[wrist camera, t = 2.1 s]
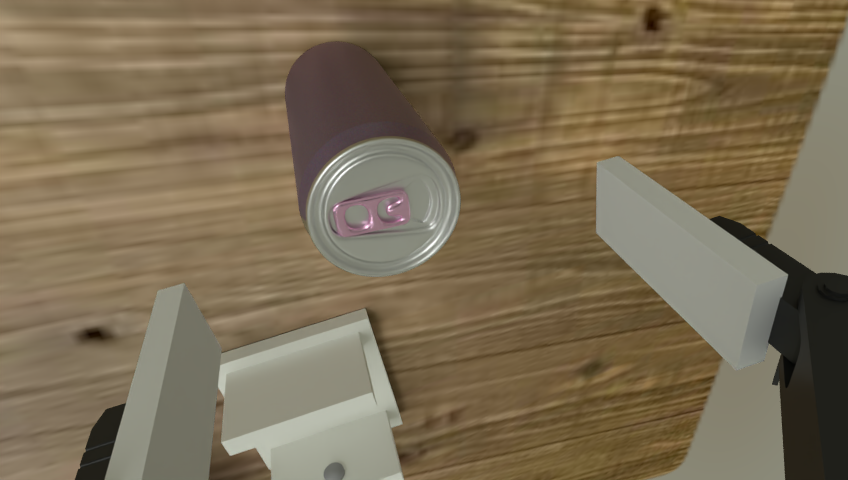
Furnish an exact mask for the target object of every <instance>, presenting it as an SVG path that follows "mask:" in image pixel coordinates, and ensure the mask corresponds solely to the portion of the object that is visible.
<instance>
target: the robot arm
mask: <svg viewBox="0 0 848 480" xmlns="http://www.w3.org/2000/svg"><path fill="white" fill-rule="evenodd" d="M596 233H597V234H598V235H599V236H600V237H601V238H602V239H603V240H604V241H605V242H606V243H607V244H608V245H609V246H610V247H611V248H612V249H613V250H614V251H615V252H616V253H617V254H618V255H619V256H620V257H621V258H622V259H623V260H624V261H625V262H626V263H627V264H628V265H629V266H630V267H631V268H632V269H633V270H634V271H635V272H637V273H638V274H639V275H640V276H641V277H642V278H643V279H644V280H645V281H646V282H647V283H648V284H649V285H650V286H651V287H652V288H653V289H654V290H655V291H656V292H657V293H658V294H659V295H660V296H661V297H662V298H663V299H664V300H665V301H666V302H667V303H668V304H669V305H670V306H671V307H672V308H673V309H674V310H675V311H676V312H677V313H678V314H679V315H680V316H681V317H682V318H683V319H684V320H685V321H686V322H687V323H688V324H689V325H690V326H692V327H693V328H694V329H695V330H696V331H697V332H698V333H699V334H700V335H701V336H702V337H703V338H704V339H705V340H706V341H707V342H708V343H709V344H710V345H711V346H712V347H713V348H714V349H715V350H716V351H717V352H718V353H719V354H720V355H721V356H722V357H723V358H724V359H725V360H726V361H727V362H728V363H729V364H730V365H731V366H732V367H733V368H734V369H735V370H739V369H742V368H745V367H748V366H751V365H753V364H756V363H759V362H762V361H764V359H765V355H766V352H767V348H768V345H769V344H771V345H772V346H773V347H774V348H775V349H776V350H778V351H779V352H780V353H781V356H780V359H779V363H778V366H777V369H776V373H775V376H774V379H773V383H772V384H773V385H778V382H779V381H780V398H781V416H782V432H783V447H784V448H783V449H784V466H785V480H848V276H846V275H841V274H837V273H818V274H816V273H814V272H813V271H811V270H810V269H808V268H807V267H805V266H804V265H802V264H801V263H799V262H798V261H796V260H795V259H793V258H792V257H790V256H789V255H787V254H786V253H784V252H783V251H781V250H780V249H778V248H777V247H775V246H774V245H772V244H768V241H766V240H765V239H763V238H762V237H760V236H759V235H758V236H756V234H755V233H754V232H753V231H751V230H750V229H748V228H747V227H745V226H744V225H742V224H741V223H738V222H735V221H733V220H730V219H727V218H724V217H721V216H718V217H715V218H711V219H708V218H707V217H705V216H704V215H702V214H701V213H699V212H698V211H697V210H695V209H694V208H692V207H691V206H689V205H688V204H687V203H685V202H684V201H682V200H681V199H679V198H678V197H677V196H675V195H674V194H672V193H671V192H669V191H668V190H667V189H665V188H664V187H662V186H661V185H659V184H658V183H657V182H655V181H654V180H652V179H651V178H649V177H648V176H647V175H645V174H644V173H642V172H641V171H639V170H638V169H637V168H635V167H634V166H632V165H631V164H630V163H628V162H627V161H625V160H624V159H622V158H621V157H620V156H617V157H614V158H610V159H607V160H603V161H600V162H597V197H596ZM221 351H222V348H221V346H220V344H219V342H218V341H217V339H216V337H215V335H214V334H213V332H212V330H211V328H210V327H209V325H208V323H207V322H206V320H205V318H204V316H203V315H202V313H201V311H200V309H199V308H198V306H197V304H196V302H195V301H194V299H193V297H192V295H191V294H190V292H189V290H188V288H187V287H186V285H185V283H183V284H179V285H176V286H172V287H169V288H166V289H162V290H159V291H158V292H157V296H156V299H155V303H154V306H153V310H152V314H151V317H150V321H149V324H148V328H147V331H146V335H145V338H144V342H143V345H142V349H141V352H140V356H139V360H138V363H137V367H136V370H135V374H134V377H133V381H132V384H131V388H130V391H129V395H128V398H127V402H126V403H125V404H122V405H118V406H115V407H112V408H109V409H106V410H105V412H104V413H103V414H102V416H101V417H100V419H99V420H98V421H97V423H96V424H95V426H94V427H93V428H92V430H91V433H90V436H89V439H88V442H87V445H86V448H85V450H86V452H85V453H84V454H83V457H82V460H81V463H80V467H81V468H80V469H78V472H77V475H76V478H75V480H209V470H210V460H211V450H212V440H213V430H214V420H215V410H216V400H217V390H218V380H219V370H220V361H221Z"/></svg>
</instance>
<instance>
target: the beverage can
mask: <svg viewBox="0 0 848 480" xmlns="http://www.w3.org/2000/svg"><path fill="white" fill-rule="evenodd" d="M285 100H286V108H287V116H288V124H289V132H290V139H291V147H292V155H293V163H294V171H295V179H296V187H297V195H298V203H299V211H300V215H301V219H302V222H303V224H304V226H305V228H306V230H307V232H308V233H309V235H310V236H311V239H312V241H313V243H314V244H315V246H316V248H317V249H318V250H319V252H320V253H321V254H322V255H323V256H324V257H325V258H326V259H327V260H328V261H330V262H331V263H332V264H334V265H335V266H337V267H339V268H341V269H343V270H345V271H347V272H350V273H353V274H357V275H361V276H369V277H383V276H391V275H396V274H400V273H403V272H406V271H409V270H411V269H413V268H415V267H417V266H419V265H421V264H423V263H424V262H426V261H427V260H429V259H430V258H431V257H432V256H434V255H435V254H436V253H437V252H438V251H439V250H440V249H441V248H442V247H443V246H444V244H445V243H446V242H447V240H448V239H449V237H450V236H451V234H452V232H453V230H454V228H455V226H456V223H457V220H458V217H459V213H460V204H461V196H460V189H459V185H458V181H457V178H456V174H455V170H454V167H453V164H452V162H451V160H450V158H449V156H448V154H447V153H446V151H445V150H444V148H443V147H442V146H441V144H440V143H439V142H438V140H437V139H436V138H435V136H434V135H433V134H432V133H431V131H430V130H429V129H428V127H427V126H426V125H425V123H424V122H423V121H422V119H421V118H420V117H419V115H418V114H417V113H416V111H415V110H414V109H413V107H412V106H411V105H410V103H409V102H408V101H407V100H406V98H405V97H404V96H403V94H402V93H401V92H400V90H399V89H398V88H397V86H396V85H395V84H394V82H393V81H392V80H391V78H390V77H389V76H388V74H387V73H386V72H385V71H384V69H383V68H382V67H381V65H380V64H379V63H378V61H377V60H376V59H375V58H374V57H373V56H372V55H371V54H370V53H368V52H367V51H366V50H364V49H362V48H360V47H358V46H356V45H354V44H350V43H346V42H327V43H323V44H319V45H317V46H314V47H312V48H311V49H309V50H307V51H306V52H305V53H303V54H302V55H301V56H300V57H299V58H298V59H297V60H296V62H295V63H294V64H293V66H292V68H291V70H290V72H289V74H288V77H287V80H286V86H285Z"/></svg>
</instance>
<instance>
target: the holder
mask: <svg viewBox="0 0 848 480" xmlns="http://www.w3.org/2000/svg"><path fill="white" fill-rule="evenodd" d="M218 388H219V389H220V391H221V393H222V394H223V396H224V410H223V423H222V436H221V443H222V445H223V446H224V448H225V449H226V451H227V452H228V454H229V455H230V456H232V455H235V454H237V453H240V452H243V451H246V450H249V449H252V448H256V449H257V451H258V452H259V454H260V456H261V457H262V459H263V460H264V462H265V464H266V465H267V467H268V469H269V470H270V469H271V480H404V477H403V473H402V469H401V465H400V461H399V457H398V453H397V449H396V445H395V441H394V437H393V433H392V429H391V428H393V427H395V426H398V425H401V424H403V423H402V419H401V416H400V412H399V409H398V406H397V403H396V400H395V397H394V394H393V391H392V388H391V385H390V382H389V379H388V376H387V373H386V370H385V367H384V364H383V361H382V358H381V354H380V351H379V348H378V345H377V342H376V339H375V336H374V333H373V330H372V327H371V324H370V321H369V318H368V315H367V312H366V309H365V308H364V309H361V310H358V311H355V312H351V313H348V314H345V315H342V316H339V317H336V318H332V319H329V320H326V321H323V322H320V323H316V324H313V325H310V326H307V327H304V328H300V329H297V330H294V331H291V332H288V333H285V334H281V335H278V336H275V337H272V338H269V339H265V340H262V341H259V342H256V343H253V344H250V345H246V346H243V347H240V348H237V349H234V350H230V351H227V352H224V353H221V361H220V370H219V380H218Z"/></svg>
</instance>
